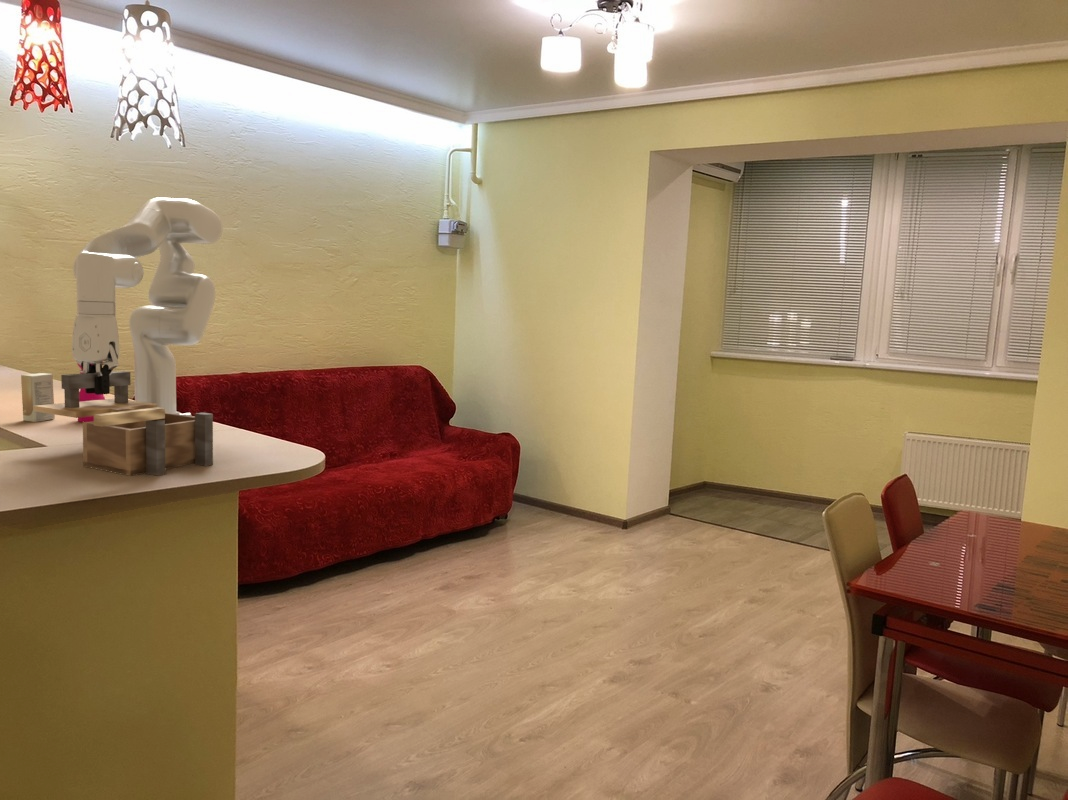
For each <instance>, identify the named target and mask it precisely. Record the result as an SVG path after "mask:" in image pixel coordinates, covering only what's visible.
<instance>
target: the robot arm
mask: <svg viewBox="0 0 1068 800" xmlns="http://www.w3.org/2000/svg"><path fill="white" fill-rule="evenodd" d="M143 203H144V204H143V205H142V206H141V207H140V208H139V209H138V210H137V211H136V212H135V214H134V215H133V216H132V218H130V220H129V221H128V222H127V223H126V224H125V225H122V226H121V227H116V228H115V229H112V230H111V231H107V232H105V233H103V234H100V235H98V236H96V237H94V238H93V239H91V240H89V242H87V243H86V244H85V245H84V246H83V247H82V249H81V250H80V251H79V253H78V254H77V256H76V257H75V259H74V262H73V265H72V266H73V268H72V269H73V271H72V273H73V275H74V278H75V281H76V315H75V317H74V320H73V321H74V322H73V327H72V329H73V330H72V340H71V343H72V345H71V346H72V348H71V350H72V351H71V353H72V358H73V360H75V361H76V363H78V364H79V365H81V367H82V368H83V373H97V376H95V388H85V392H86V393H88V394H89V393H95V394H96V395H102V394H103V395H109V394H110V392H111V391H110V390H111V389H110V388H111V387H110V383H109V376H111V372H113V370H114V369H116V368H117V367H118V366H119V365H120V363H119V359H120V358H119V357H120V338H119V337H120V336H119V328H118V327H119V326H118V322H117V317H116V313H117V312H116V289H117V288H119V289H125V288H126V289H129V288H134V287H136V286H138V285H139V284H140V283H141V281H142V280H143V278H144V267H143V264H142V263H141V261H140V260H139V259H138V258H141V257H144V256H148V255H150V254H152V253H154V252H156V251H157V249H159V253H160V254H159V255H160V258H159V263H158V265H157V267H156V271H155V273H154V275H153V278H152V281H151V283H150V286H149V288H148V300H149V302H150V304H151V305H142V306H139V307H137V308H135V309H133V311H132V313H131V314H130V316H129V321H128V322H129V323H128V324H129V331H130V334H131V339H132V345H133V357H134V401H139V402H147V403H154V404H158V407H160V408H165V412H166V413H173V414H180V415H187V416H192V414H191V412H185V413H181V412H180V411H177V365H176V363H177V362H176V358H175V357H174V354H173V353H172V351H171V350H170V348H169V347H168V346H167V345H170V346H172V345H173V346H193V345H197V344H199V343H200V342H201V340H202V339H203V337H204V335H205V332H206V328H207V327H208V323H209V320H210V318H211V315H212V311H213V309H214V305H215V301H216V287H215V284H214V282H213V280H212V279H211V278H210V277H209V276H208V275H204V274H200V273H194V271H195V261H194V259H193V257H192V256H191V254H190V253H189V252H188V251H187V249H186V248H185V247H184V245H183V244H201V245H210V244H215V243H217V242H218V241H219V240H220V239H221V237H222V235H223V224H222V220H221V218H220V216H219V215H218V214H217V213H216V212H215V211H213V210H212V209H211V208H209V207H207V206H205V205H203V204H202V203H200V202H198V201H196V200H192V199H190V198H179V197H178V198H176V197H175V198H174V197H172V198H171V197H154V198H150V199H148V200H147V201H145V202H143ZM102 361H103V362H102ZM91 363H92V364H91ZM78 364H77V365H78Z"/></svg>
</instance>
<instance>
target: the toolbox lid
mask: <svg viewBox="0 0 1068 800" xmlns="http://www.w3.org/2000/svg"><path fill="white" fill-rule="evenodd" d="M95 376H97V373H83V374H80V373H69V374H68V373H67V374H61V375H60V377H61V382H60V383H61V390H64V392H63V393H64V402H62V403H54V404H48V405H36V406H34V411H35V412H42V413H48V414H54V415H55V416H62V417H69V418H76V419H78V418H79V417H89V416H94V415H95V414H104V413H113V412H121V411H130V410H139V409H147V408H156V407H158V404H154V403H147V402H139V401H135V400H132V399H131V400H130V399H129V386H131V384H132V383H131V371H127V370H126V371H124V370H120V371H112V372H111V376H109V383H110V388H111V387H113V389H114V391H113V392H114V394H113V395H114V396H113V397H114V398H105V399H104V400H93V401H81V402H79V392H80V389H85V388H95Z"/></svg>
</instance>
